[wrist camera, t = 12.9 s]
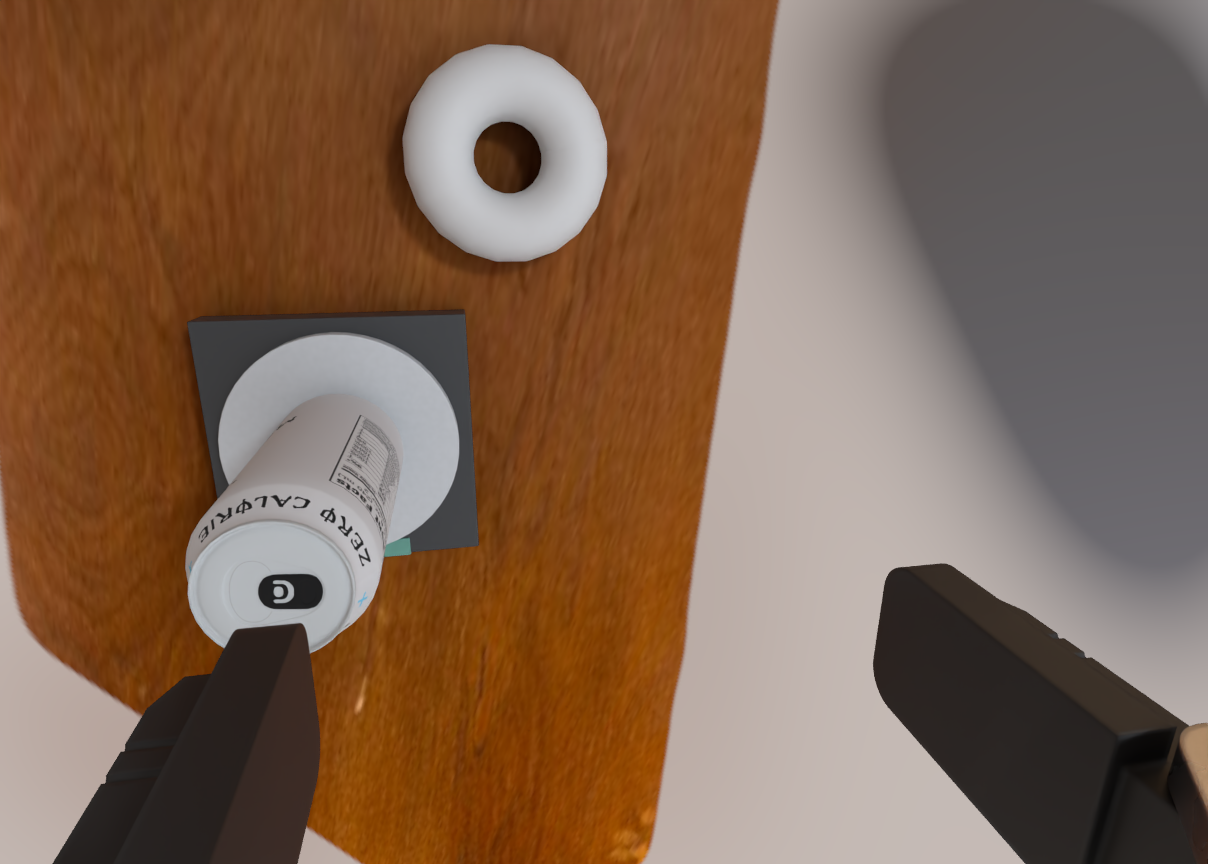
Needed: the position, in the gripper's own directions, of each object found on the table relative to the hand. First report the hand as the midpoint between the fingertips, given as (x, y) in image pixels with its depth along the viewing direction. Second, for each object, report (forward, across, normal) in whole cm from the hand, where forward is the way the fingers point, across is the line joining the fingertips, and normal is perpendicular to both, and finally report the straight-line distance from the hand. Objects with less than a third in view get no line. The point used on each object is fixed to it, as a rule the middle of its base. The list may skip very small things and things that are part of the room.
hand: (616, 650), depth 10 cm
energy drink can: (+28, +8, +6) cm, 30 cm away
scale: (+31, +8, +6) cm, 32 cm away
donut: (+31, -1, -8) cm, 32 cm away
